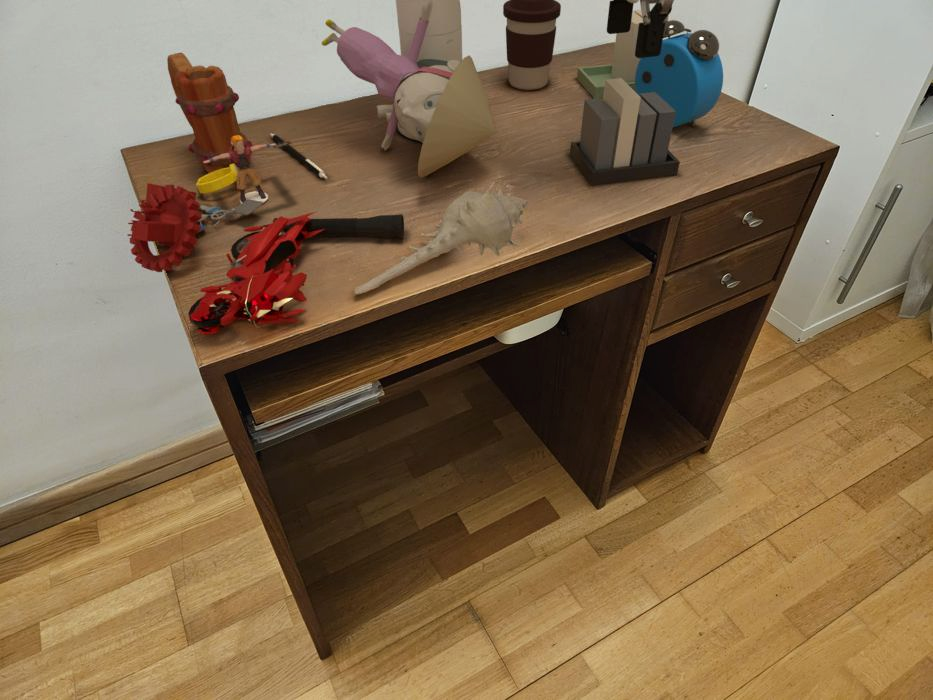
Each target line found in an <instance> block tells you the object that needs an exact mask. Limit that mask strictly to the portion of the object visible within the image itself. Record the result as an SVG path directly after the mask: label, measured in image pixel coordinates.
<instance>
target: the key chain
mask: <svg viewBox="0 0 933 700" xmlns="http://www.w3.org/2000/svg"><path fill="white" fill-rule="evenodd" d="M263 204H264V202H261V201H255V200H246V201H245V202H243V203H242V204H241V203H240V204H239V205H238V206H234V207H233V208H230V209H222V207H221V206H212V207H211V206H208V205H205V204H201V205H200V208H199V209H198V210H201V211H205V213H206V214H203V213H202V219H201V220H199V221H198V222H197V223H199V224H198V225H199V226H201V230H200V232H202V231H204V230H205V229H209V228H213V227H214V226H216V225H217V224H218V223H219V222H220V220H221V219H224V218H226V217H229V216H231V215H237V214H238V215H242V216H243V215H244V216H249V215H250V214H251V213H253V212H254V211H256V210H257V209H258V208H259V207H261V206H262V205H263ZM209 216H210V220H213V221H217V222H216V223H215V224H213V225H209V226H205V224H202V221H203V220H204V219H206V218H207V217H209ZM215 216H216V217H215ZM160 246H161V247H163V246H164V245H162V244H160Z"/></svg>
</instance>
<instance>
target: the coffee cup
mask: <svg viewBox="0 0 933 700" xmlns="http://www.w3.org/2000/svg"><path fill="white" fill-rule="evenodd" d="M502 6H503V7H502V10H503V11H502V14H503V17H504V18H506V25H505V42H506V43H505V44H506V46H505V47H506V60H507V66H508V67H507V68H508V82H509V84H510V86H512V87H513V88H516V89H517V90H523V91H524V90H525V91H533V90H539V89H542V88H544V87H546V85H547V84H548V82H549V77H550V69H551V64H552V61H553V56H554V50H555V49H554V48H555V41H556V34H557V25H556V24H557V19H558V18H559V17H560V16H561V10H562V5H561V3H560V2H559V1H557V0H507V1H505V2H504V4H503V5H502Z"/></svg>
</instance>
